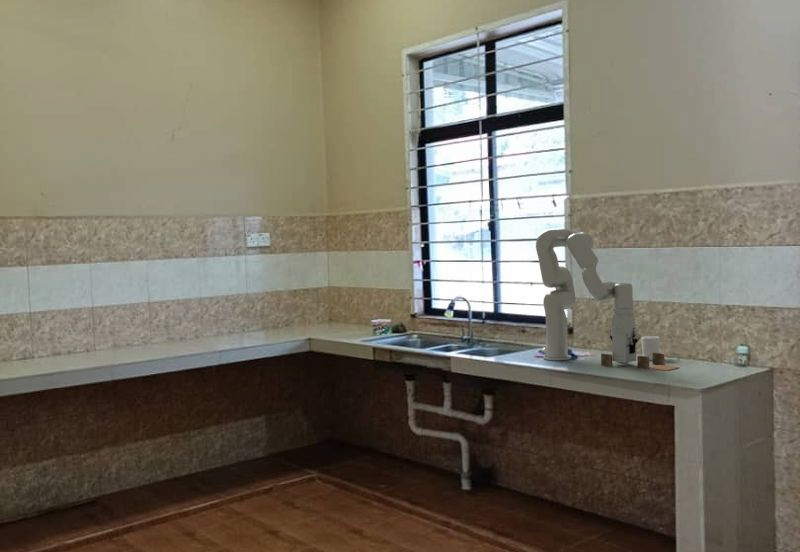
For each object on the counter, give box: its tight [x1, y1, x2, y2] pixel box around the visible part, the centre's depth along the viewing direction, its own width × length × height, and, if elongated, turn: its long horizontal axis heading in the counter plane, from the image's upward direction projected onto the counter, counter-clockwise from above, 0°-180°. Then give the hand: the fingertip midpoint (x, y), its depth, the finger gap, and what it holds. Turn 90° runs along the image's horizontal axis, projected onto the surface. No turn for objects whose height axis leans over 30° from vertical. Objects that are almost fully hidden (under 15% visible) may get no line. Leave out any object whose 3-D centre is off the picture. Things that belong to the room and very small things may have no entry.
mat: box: [649, 364, 680, 372], centre depth 319 cm, size 9×9×1 cm
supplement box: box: [611, 332, 637, 364], centre depth 328 cm, size 7×7×13 cm
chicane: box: [600, 352, 665, 370], centre depth 328 cm, size 20×17×5 cm
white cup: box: [640, 335, 661, 361], centre depth 341 cm, size 8×8×10 cm
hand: (624, 352), depth 329 cm, fingers closed on supplement box, 7 cm apart
